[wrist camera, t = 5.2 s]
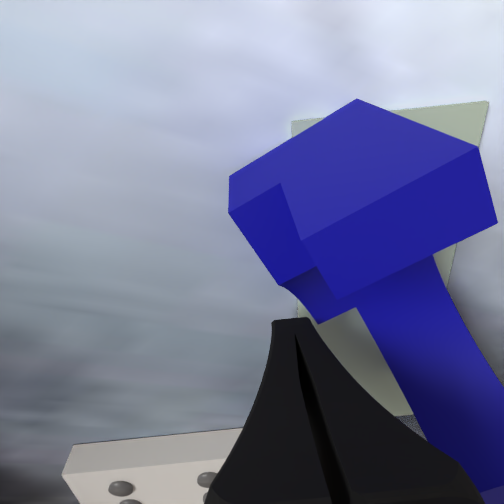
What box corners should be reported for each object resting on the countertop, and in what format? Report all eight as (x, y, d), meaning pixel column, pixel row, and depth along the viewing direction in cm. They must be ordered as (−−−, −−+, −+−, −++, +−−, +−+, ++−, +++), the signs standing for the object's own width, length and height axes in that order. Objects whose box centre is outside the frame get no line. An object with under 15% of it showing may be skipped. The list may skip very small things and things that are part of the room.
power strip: (102, 494, 21) (90, 536, 19) (73, 444, 18) (56, 488, 17) (336, 471, 21) (346, 511, 19) (339, 418, 18) (351, 458, 17)
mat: (301, 421, 18) (302, 425, 18) (291, 121, 11) (292, 122, 11) (416, 410, 18) (418, 414, 18) (484, 100, 11) (488, 102, 11)
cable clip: (229, 175, 12) (226, 280, 6) (356, 98, 11) (477, 146, 5) (365, 383, 17) (424, 532, 12) (458, 345, 16) (567, 489, 11)
